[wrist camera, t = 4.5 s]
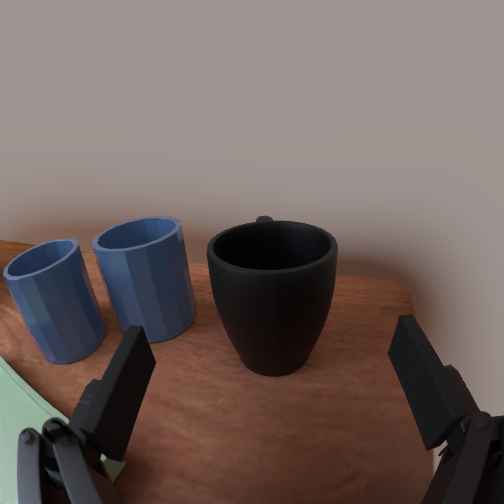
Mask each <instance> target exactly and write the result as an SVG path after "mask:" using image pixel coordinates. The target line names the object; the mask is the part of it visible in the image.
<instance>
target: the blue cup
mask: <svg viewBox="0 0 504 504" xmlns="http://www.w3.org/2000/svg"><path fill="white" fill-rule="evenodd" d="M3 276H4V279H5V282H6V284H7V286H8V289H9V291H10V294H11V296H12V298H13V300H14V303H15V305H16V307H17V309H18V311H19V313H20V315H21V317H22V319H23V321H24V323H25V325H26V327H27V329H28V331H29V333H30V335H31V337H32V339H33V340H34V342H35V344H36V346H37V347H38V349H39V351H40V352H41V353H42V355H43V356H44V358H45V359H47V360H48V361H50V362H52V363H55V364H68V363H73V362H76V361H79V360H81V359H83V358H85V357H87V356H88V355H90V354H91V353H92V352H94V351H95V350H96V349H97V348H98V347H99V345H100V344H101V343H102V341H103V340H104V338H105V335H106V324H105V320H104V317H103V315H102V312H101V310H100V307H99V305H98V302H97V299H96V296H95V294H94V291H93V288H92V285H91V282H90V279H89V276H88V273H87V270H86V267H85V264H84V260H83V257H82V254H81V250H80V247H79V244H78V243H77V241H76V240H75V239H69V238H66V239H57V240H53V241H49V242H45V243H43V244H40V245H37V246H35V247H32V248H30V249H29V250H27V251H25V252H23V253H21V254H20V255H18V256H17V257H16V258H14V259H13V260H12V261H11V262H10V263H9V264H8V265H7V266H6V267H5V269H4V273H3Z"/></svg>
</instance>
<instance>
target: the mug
mask: <svg viewBox="0 0 504 504" xmlns="http://www.w3.org/2000/svg"><path fill="white" fill-rule="evenodd" d="M337 253H338V245H337V243H336V240H335V238H334V237H333V236H332V235H331V234H330V233H328V232H327V231H325V230H323V229H321V228H318V227H316V226H312V225H309V224H305V223H300V222H293V221H273V219H272V218H271V217H269V216H260V217H258V218H257V219H256V222H253V223H247V224H243V225H239V226H235V227H232V228H230V229H227V230H225V231H223V232H221V233H219V234H217V235H216V236H215V237H214V238H212V239H211V241H210V242H209V244H208V247H207V259H208V267H209V274H210V280H211V286H212V292H213V297H214V300H215V304H216V307H217V310H218V313H219V315H220V318H221V321H222V323H223V325H224V328H225V330H226V332H227V334H228V336H229V338H230V340H231V342H232V344H233V346H234V347H235V349H236V351H237V352H238V354H239V356H240V358H241V360H242V362H243V363H244V364H245V366H246V367H247V368H249V369H250V370H252V371H253V372H255V373H258V374H260V375H265V376H283V375H287V374H290V373H293V372H295V371H296V370H298V369H299V368H301V367H302V366H303V365H304V364H305V362H306V361H307V359H308V357H309V354H310V352H311V351H312V349H313V347H314V345H315V343H316V342H317V340H318V338H319V336H320V334H321V331H322V329H323V327H324V324H325V322H326V319H327V316H328V313H329V309H330V305H331V301H332V297H333V292H334V285H335V277H336V266H337Z"/></svg>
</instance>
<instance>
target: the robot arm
mask: <svg viewBox="0 0 504 504" xmlns="http://www.w3.org/2000/svg"><path fill="white" fill-rule="evenodd" d="M388 355H389V358H390V360H391V362H392V364H393V367H394V369H395V371H396V374H397V376H398V378H399V381H400V383H401V385H402V388H403V390H404V393H405V395H406V397H407V400H408V402H409V405H410V408H411V410H412V413H413V415H414V418H415V420H416V423H417V426H418V429H419V431H420V434H421V437H422V440H423V442H424V445H425V448H426V451H428V450H430V449H433V448H436V447H438V446H440V445H441V444H442V443H443V442H444V441H445V440H446V441H447V444H448V445H447V446H446V447H445V448H444V449H443V450H442V451H441V452H440V453H439V455H438V456H441V455H442V454H443V455H442V458H441V461H440V463H439V465H438V468H437V470H436V472H435V475H434V477H433V479H432V481H431V484H430V486H429V488H428V490H427V492H426V494H425V496H424V498H423V500H422V502H421V504H504V416H496V417H491V416H490V414H488V413H486V412H483V411H480V410H479V408H478V406H477V405H476V403H475V401H474V399H473V397H472V395H471V393H470V392H469V390H468V388H467V387H466V384H465V382H464V381H463V380H462V377H461V375H460V374H459V372H458V371H457V370H456V369H455V368H454V367H452V366H451V365H447V366H443V364H442V362H441V361H440V359H439V357H438V356H437V354H436V352H435V350H434V349H433V347H432V345H431V344H430V342H429V341H428V339H427V337H426V336H425V334H424V333H423V331H422V329H421V328H420V326H419V325H418V323H417V321H416V320H415V318H414V317H413V315H412V314H409V315H402V316H399V319H398V323H397V326H396V330H395V333H394V336H393V339H392V342H391V345H390V349H389V352H388ZM155 365H156V361H155V358H154V356H153V353H152V350H151V348H150V345H149V342H148V340H147V337H146V334H145V331H144V328H143V326H135V325H130V326H129V328H128V330H127V331H126V333H125V335H124V337H123V339H122V341H121V342H120V344H119V346H118V348H117V350H116V352H115V354H114V356H113V358H112V359H111V361H110V363H109V365H108V367H107V369H106V371H105V373H104V375H103V377H102V379H101V380H96V379H93V380H92V381H91V382H90V383H89V384H88V385H87V386H86V388H85V390H84V392H83V394H82V396H81V398H80V400H79V403H78V404H77V406H76V408H75V410H74V412H73V414H72V416H71V418H70V420H69V422H68V424H66V423H65V421H64V420H62V419H61V418H58V417H53V418H50V419H48V420H46V422H45V423H44V424H43V426H42V434H40V433H39V432H38V431H37V430H35V429H34V428H31V427H28V428H25V429H23V430H22V431H21V433H20V434H19V437H18V450H17V489H18V504H124V503H123V501H122V500H121V498H120V496H119V494H118V492H117V490H116V488H115V486H114V484H113V482H112V480H111V478H110V476H109V474H108V472H107V470H106V468H105V466H104V463H103V461H102V460H101V459H100V458H101V455H102V454H103V455H104V456H105V457H107V458H108V459H111V460H114V461H118V462H123V458H124V455H125V452H126V449H127V446H128V443H129V439H130V436H131V433H132V430H133V427H134V424H135V421H136V418H137V415H138V412H139V409H140V406H141V404H142V401H143V398H144V395H145V392H146V389H147V386H148V384H149V381H150V378H151V375H152V373H153V370H154V367H155Z"/></svg>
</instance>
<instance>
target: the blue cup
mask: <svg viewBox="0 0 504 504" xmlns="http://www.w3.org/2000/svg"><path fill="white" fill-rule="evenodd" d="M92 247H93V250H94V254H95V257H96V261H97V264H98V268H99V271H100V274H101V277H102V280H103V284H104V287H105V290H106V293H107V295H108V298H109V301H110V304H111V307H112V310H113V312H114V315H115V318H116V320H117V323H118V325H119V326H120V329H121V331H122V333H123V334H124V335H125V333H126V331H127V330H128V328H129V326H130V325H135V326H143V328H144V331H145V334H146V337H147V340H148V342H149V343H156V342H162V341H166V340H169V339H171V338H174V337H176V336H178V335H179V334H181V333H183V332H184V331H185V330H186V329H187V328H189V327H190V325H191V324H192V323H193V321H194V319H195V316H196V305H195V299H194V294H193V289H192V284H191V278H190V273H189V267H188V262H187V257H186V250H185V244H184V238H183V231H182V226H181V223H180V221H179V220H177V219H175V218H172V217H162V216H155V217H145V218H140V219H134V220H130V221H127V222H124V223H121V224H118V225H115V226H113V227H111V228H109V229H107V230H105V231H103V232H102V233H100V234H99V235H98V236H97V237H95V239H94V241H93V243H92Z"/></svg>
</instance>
